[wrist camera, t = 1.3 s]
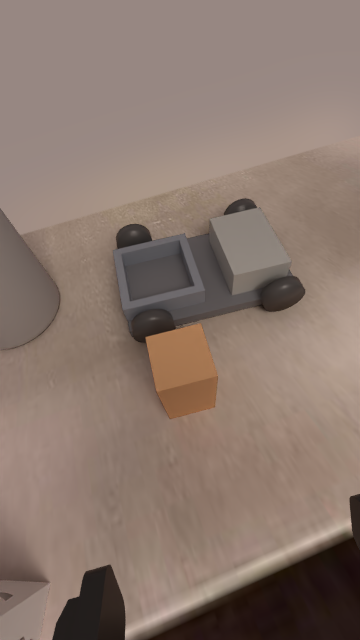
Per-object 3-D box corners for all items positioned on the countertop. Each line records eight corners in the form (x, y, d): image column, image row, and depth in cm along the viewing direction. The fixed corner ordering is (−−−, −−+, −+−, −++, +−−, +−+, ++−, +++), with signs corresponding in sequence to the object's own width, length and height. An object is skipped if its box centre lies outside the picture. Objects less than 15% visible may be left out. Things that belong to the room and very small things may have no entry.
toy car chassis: (256, 222, 45) (262, 191, 41) (302, 305, 37) (316, 277, 32) (117, 254, 44) (107, 226, 39) (133, 347, 36) (122, 325, 31)
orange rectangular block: (202, 365, 34) (200, 323, 26) (214, 407, 32) (217, 375, 23) (160, 376, 34) (145, 337, 25) (170, 419, 31) (156, 391, 23)
